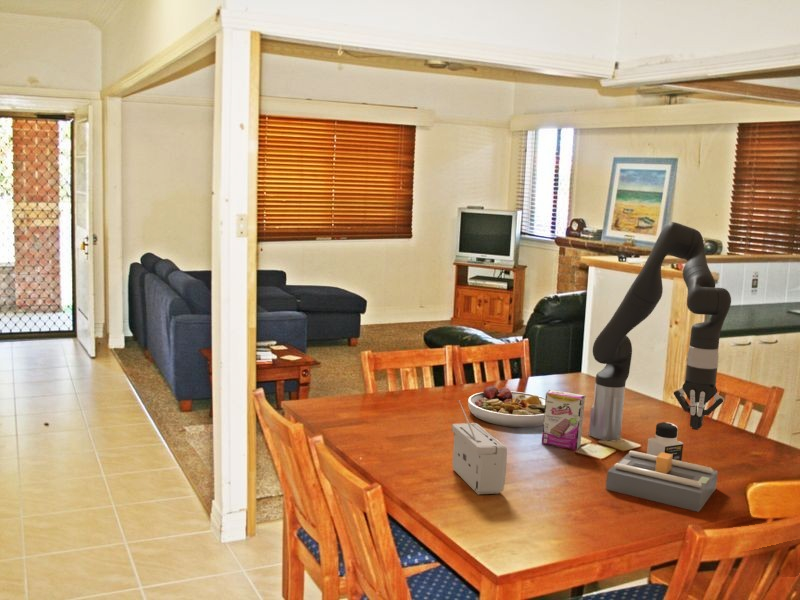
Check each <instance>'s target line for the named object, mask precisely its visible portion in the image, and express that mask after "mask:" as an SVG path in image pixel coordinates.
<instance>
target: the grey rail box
mask: <svg viewBox="0 0 800 600" xmlns="http://www.w3.org/2000/svg"><path fill="white" fill-rule="evenodd" d="M656 458H657V456H655V455H650V454H647V452H646V453H645V452H640V451H636V450H629V451H628V453H627V454H626V455H624V456H623V457H622V458H621V459H619V461H618V462H617V463H614V465H613V466H611V468H609V469H608V470H607V472H606V474H607V475H606V483H605V490H607V491H611V492H614V493H619V494H622V495H623V494H624V495H628V496H632V497H637V498H640V499H645V500H648V501H652V502H656V503H660V504H664V505H669V506H673V507H678V508H680V509H681V508H682V509H685V510H688V511H694V512H697V513H700V511H701V510H702V508H703V507H704V506H705V504H706V503H707V501H709V499H710V497H711V496H712V495H713V493H714V492H715V491H716V489H717V482H718V473H719V471H718V470H715V469H713V468H712V467H710V466H704V465H701V464H696V463H692V462H691V463H690V462H686V461H678V460H673V459H672V468H671V470H670V471H669V472H668V473H667V474H665V473H660V472H656V471H655V468H656Z"/></svg>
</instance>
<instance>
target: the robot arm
mask: <svg viewBox="0 0 800 600" xmlns="http://www.w3.org/2000/svg"><path fill="white" fill-rule="evenodd" d="M667 255H669V256H671V257H675V258H678V259H681V260H685V261H687V262H686V263H685V264H684V266H683V269H682V277H683V281H684V283H685V286H686V288H687V297H686V306H687V310H689V311H690V313H693V314H694V315H704V316H705V315H706V316H710V317H709V319H708V320H706V321H703V322H698V323H694V324H692V326H691V328H690V329H691V330H690V338H689V346H688V347H689V348H688V351H687V352H688V353H687V357H686V369H685V376H684V377H685V379H684V383H683V384H682V387H681V388H679V389H676V390H675V391H673V395H674V396H675V399H676V400H677V402H678V403H679V405H680V407H681V408H682V409H683V411H684V412H685V413H689V414H690V420H689V426H690V427H691V429H692V430H695V431H698V430H700V429H701V428H702V426H703V420H704V417H705V416H710V414H712V413H713V412H714V411H715V410H716V409H717V408H718V407H719V406H721V404H723V403H724V402H725V397H724V396H721V395H720V394H719V393H718V389H717V387H716V386H717V378H718V377H717V375H718V366H719V365H718V364H719V347H720V346H719V345H720V337H721V331H722V329H723V325H724V322H725V320H726V318H727V315H728V313H729V311H730V309H731V305H732V296H731V294H730V292H729V291H728V290H727V288H723V287H716V280H715V277H714V276H713V274H712V272H711V270H710V268H709V265H708V263H707V255H706V249H705V242H704V238H703V236H702V234H701V232H700V231H699V230H697V229H695V228H693V227H690V226H687V225H684V224H682V223H678V222H676V221H671V222H670V221H669V222H668V223H666V224H665V226H664V227H663V228H662V229H661V231H660V234H659V235H658V237H657V239H656V241H655V243H654V246H653V247H652V249H651V252H650V253H649V255H648V257H647V259H646V261H645V263H644V264H643V266H642V268H641V270H640V271H639V272H638V275H637V276H636V277H635V279H634V281H633V283H631V285H630V287H629V289H628V290H627V292H626V294H625V296H624V297H623V299H622V301H621V303H620V304H619V306H618V308H617V309H616V310H615V312H614V314H612V315H613V316H612V317H611V318H610V320H609V321H608V323H606V326H604V328H603V329H602V330H601V331H600V333H599V334H598V335H597V337H596V338H595V340H594V342H593V345H592V356H593V358H594V360H595V361H596V362H597V363H600V364H604V365H605V366H604V367H603V368H602V370H600V371H599V372H597V373H596V376H595V381H594V382H595V383H594V391H593V392H594V393H593V394H594V396H593V405H592V406H591V407H590V413H589V414H590V415H589V416H590V417H589V425H588V426H589V427H588V436H590V437H593V438H595V439H598V440H603V441H608V440H614V441H618V440H617V439H619V440H620V439H621V436H622V435H621V434H622V425H623V415H624V406H625V405H624V403H625V392H626V382H627V380H628V378H629V376H630V369H631V364H632V356H633V347H632V342H631V340H630V338H629V336H628V334H629V333H630V332H631V331H632V330H633V329H635V328H636V327H637V326H638V325H640V324H641V323H642V322H643V321H644V320H645V319H647V318H648V317H649V316H650V315H651V314H652V312H653V311H654V310H655V308H656V307H657V305H658V303H659V302H660V300H661V298H662V296H663V288H664V287H663V280H662V278H663V277H662V266H663V263H664V260H665V258H666V257H667ZM685 396H686V397H687V399H688V400H689V402H688V401H687V399H686V398H685ZM712 398H713V400H712V401H713V403H712V405H710V406H709V407H708V408H707V409H706V405H707V403H708V402H709V401H710V400H711V399H712Z"/></svg>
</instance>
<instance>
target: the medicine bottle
mask: <svg viewBox="0 0 800 600" xmlns="http://www.w3.org/2000/svg"><path fill="white" fill-rule="evenodd" d="M678 431H679V427H678V426H677V425H676V424H674V423H671V422H666V421H664V422H659V423H657V424H656V425H655V434H654V435H655V437H649V438H648V439H647V449H646V454H650V455H655V456H658V455H659V454H660V453H661V452H664V453H668V454H673V458H672V459H673V460H678V461H682V458H683V450H684V442H682V441H679V440H678Z"/></svg>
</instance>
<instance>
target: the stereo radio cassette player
mask: <svg viewBox="0 0 800 600" xmlns="http://www.w3.org/2000/svg"><path fill="white" fill-rule="evenodd" d="M458 403H459V404H460V407H461V411H462V412H463V415H464V418H465V420H466V423H465V422H463V423H461V422H460V423H453V424H452V425H451V432H453V449H452V450H453V452H452V469H453V471H454V472H455V473H456V474H458V476H459V477H460V478H461V479H462V480H463V481H464V482H465V483H466V484H467V485H468V486H469V487H470V489H472V490H473V491H474V492H475V493H476V495H489V494H492V495H493V494H495V495H498V494H500V493H502V492H503V491H504V489H505V483H506V475H507V474H506V473H507V457H508V451H507V449H508V448H507V446H506V445H504V444H503V443H502V442H501V441H500V440H498V439H497V438H496V437H494V436H493V435H492V434H491V433H490V432H488V431H487V430H486V429H484V427H482V426H481V425H480V424H479V423H476V422H470V421H469V419H468V417H467V414H466V412H465V410H464V408H463V406H462V403H461V400H458Z"/></svg>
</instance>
